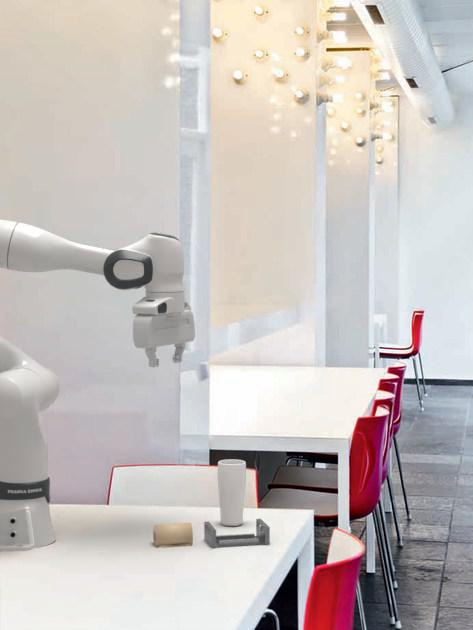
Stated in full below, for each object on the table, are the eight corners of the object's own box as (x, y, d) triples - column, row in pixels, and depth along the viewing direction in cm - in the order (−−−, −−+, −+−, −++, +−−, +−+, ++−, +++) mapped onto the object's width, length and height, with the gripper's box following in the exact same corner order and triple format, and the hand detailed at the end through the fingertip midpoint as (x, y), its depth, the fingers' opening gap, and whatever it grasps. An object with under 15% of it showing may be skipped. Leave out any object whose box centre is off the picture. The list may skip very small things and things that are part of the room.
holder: (211, 550, 241) (211, 530, 240) (204, 541, 248) (204, 521, 248) (269, 547, 244) (269, 527, 243) (260, 538, 251) (260, 518, 251)
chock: (159, 549, 242) (159, 546, 241) (155, 543, 246) (155, 540, 246) (190, 547, 243) (190, 544, 243) (186, 541, 248) (186, 538, 248)
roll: (156, 550, 241) (156, 527, 241) (152, 544, 246) (152, 522, 246) (193, 548, 243) (193, 525, 243) (189, 542, 248) (189, 520, 248)
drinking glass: (242, 528, 260) (243, 465, 259) (214, 526, 262) (214, 464, 261) (248, 521, 267) (248, 459, 266) (220, 520, 268) (221, 458, 267)
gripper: (178, 301, 263) (179, 359, 264) (127, 306, 246) (128, 368, 247) (201, 302, 260) (201, 360, 261) (150, 307, 242) (151, 370, 243)
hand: (165, 364), depth 254 cm, fingers open, 8 cm apart
